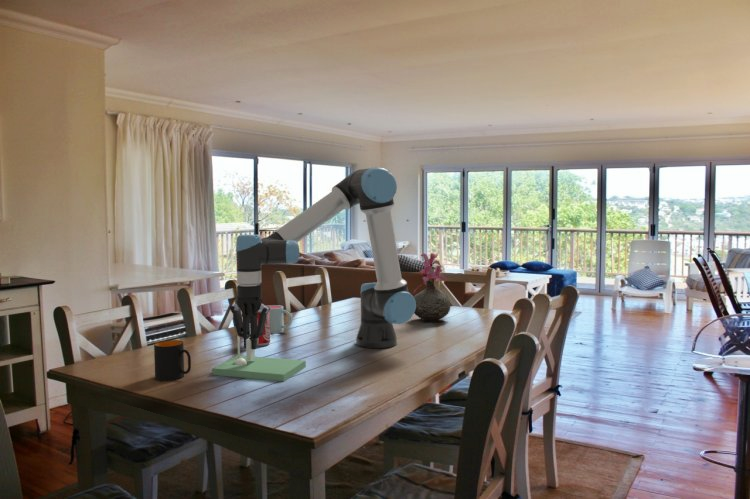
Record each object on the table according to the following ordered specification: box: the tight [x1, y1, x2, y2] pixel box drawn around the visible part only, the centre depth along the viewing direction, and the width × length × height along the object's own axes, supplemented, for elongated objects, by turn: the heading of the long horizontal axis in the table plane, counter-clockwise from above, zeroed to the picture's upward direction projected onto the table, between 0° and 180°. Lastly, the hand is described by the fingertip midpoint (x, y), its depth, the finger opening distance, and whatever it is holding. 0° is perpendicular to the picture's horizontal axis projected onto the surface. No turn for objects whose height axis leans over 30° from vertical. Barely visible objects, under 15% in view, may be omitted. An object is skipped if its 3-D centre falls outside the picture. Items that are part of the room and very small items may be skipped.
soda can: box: [257, 308, 271, 347], centre depth 215 cm, size 7×7×13 cm
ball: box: [235, 358, 247, 366], centre depth 183 cm, size 4×4×4 cm
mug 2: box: [265, 304, 293, 335], centre depth 238 cm, size 14×9×10 cm
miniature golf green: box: [211, 321, 307, 382], centre depth 181 cm, size 24×16×14 cm, turn 74°
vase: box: [413, 252, 451, 323], centre depth 258 cm, size 17×18×30 cm
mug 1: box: [153, 339, 192, 382], centre depth 174 cm, size 8×12×10 cm
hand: (250, 359), depth 182 cm, fingers closed
